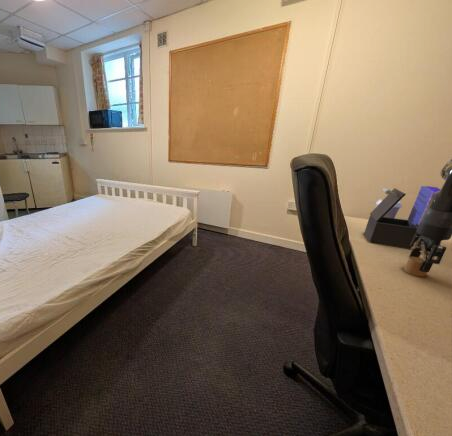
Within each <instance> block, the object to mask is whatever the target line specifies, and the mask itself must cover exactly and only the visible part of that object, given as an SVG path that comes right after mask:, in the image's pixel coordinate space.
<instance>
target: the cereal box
mask: <svg viewBox="0 0 452 436" xmlns="http://www.w3.org/2000/svg"><path fill="white" fill-rule="evenodd" d="M440 190H441V188H439V187H437V186H428V185H421V186H420V188H419V191H418V193H417V195H416V199H415V201H414V203H413V206H412V208H411V211H410V213H409V215H408V218H407V220H410V221H411V222H412V223H413V224H415V225H416V226H417V227H418V225H419V223H420V221H421V219H422V216H423V214H424V212H425V211H426V210H427V208H428V206H429V204H430V201H431V199H432V197H433V195H434V194H435V193H436V192H437V191H440Z"/></svg>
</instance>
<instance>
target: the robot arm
mask: <svg viewBox="0 0 452 436" xmlns="http://www.w3.org/2000/svg"><path fill="white" fill-rule="evenodd" d="M440 178H441V179H443V180H444V183H443V184H442V187H441V188H440V189H441V190H440V191H437V192H436V193H435V194H434V195H433V197H432V199H431V201H430V204H429V206H428V208H427V210H426V211H425V212H424V214H423V216H422V219H421V221H420V223H419V225H418V227H417V230H416V233H415V235H414V237H413V239H412V241H411V243H410V246H412V247H411V249H410V250H411V251H410V253H409V256H408V258H409V257H419V258H420V257H421V255H422V256H423V258H422V259H423V261H422V263H421V265H420V267H419V270H420V271H422V272H427V273H429V272H430V271H431V268H432V267H433V265H434V264H435V265H440V263H441V261H442V259H443V257H444V255H445V252H446V250H447V247H446V246H442V245H441V243H442V242H443V241H448V240H450V239H451V238H452V158H451V159H450V160H448V161H447V162H446V163H445V164H444V165H443V167H442V168H441V169H440Z"/></svg>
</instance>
